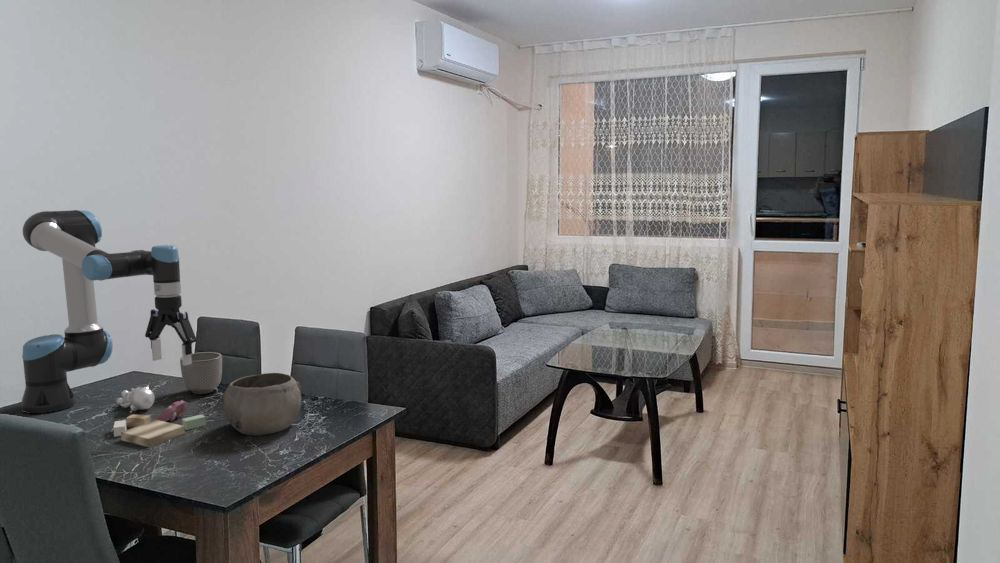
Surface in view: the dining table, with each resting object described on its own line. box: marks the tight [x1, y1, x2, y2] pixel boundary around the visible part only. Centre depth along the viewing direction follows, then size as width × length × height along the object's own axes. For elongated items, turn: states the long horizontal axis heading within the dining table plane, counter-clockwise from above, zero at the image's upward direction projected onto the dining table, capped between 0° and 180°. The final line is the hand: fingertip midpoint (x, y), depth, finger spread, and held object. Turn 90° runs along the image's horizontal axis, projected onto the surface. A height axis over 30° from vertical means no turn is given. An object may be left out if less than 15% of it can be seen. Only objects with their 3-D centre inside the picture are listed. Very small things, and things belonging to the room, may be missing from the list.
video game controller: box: [156, 399, 190, 422], centre depth 225 cm, size 10×5×7 cm, turn 169°
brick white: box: [113, 419, 128, 438], centre depth 212 cm, size 6×3×3 cm, turn 25°
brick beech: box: [125, 413, 152, 428], centre depth 219 cm, size 6×3×3 cm, turn 83°
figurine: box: [115, 384, 156, 414], centre depth 235 cm, size 11×7×15 cm
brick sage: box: [181, 414, 207, 431], centre depth 218 cm, size 6×3×3 cm, turn 136°
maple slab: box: [120, 419, 186, 448], centre depth 209 cm, size 12×12×2 cm
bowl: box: [221, 372, 302, 436], centre depth 218 cm, size 23×23×15 cm
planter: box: [179, 351, 223, 395], centre depth 253 cm, size 14×14×13 cm
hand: (172, 362), depth 222 cm, fingers open, 13 cm apart
